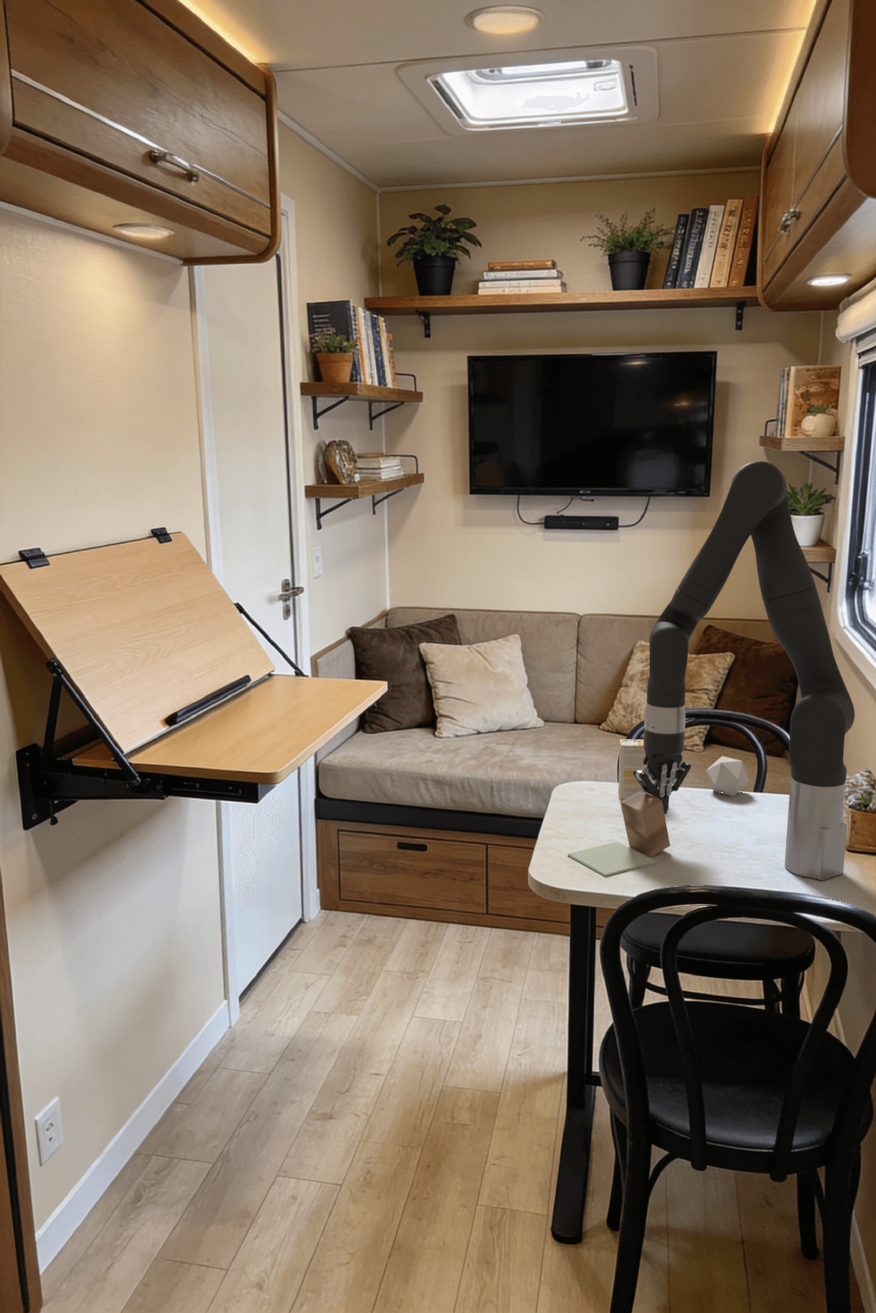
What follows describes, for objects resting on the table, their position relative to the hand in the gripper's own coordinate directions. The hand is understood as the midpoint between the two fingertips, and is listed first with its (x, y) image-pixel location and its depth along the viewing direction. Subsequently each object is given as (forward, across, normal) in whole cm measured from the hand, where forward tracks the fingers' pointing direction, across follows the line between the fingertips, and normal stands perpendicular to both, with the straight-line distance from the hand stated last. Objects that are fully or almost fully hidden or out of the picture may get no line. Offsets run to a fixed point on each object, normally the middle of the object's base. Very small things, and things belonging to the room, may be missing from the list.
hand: (660, 813), depth 191 cm
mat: (+7, -12, 0) cm, 14 cm away
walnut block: (+6, -3, 0) cm, 7 cm away
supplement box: (+7, +14, +23) cm, 28 cm away
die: (+7, +34, +16) cm, 38 cm away
